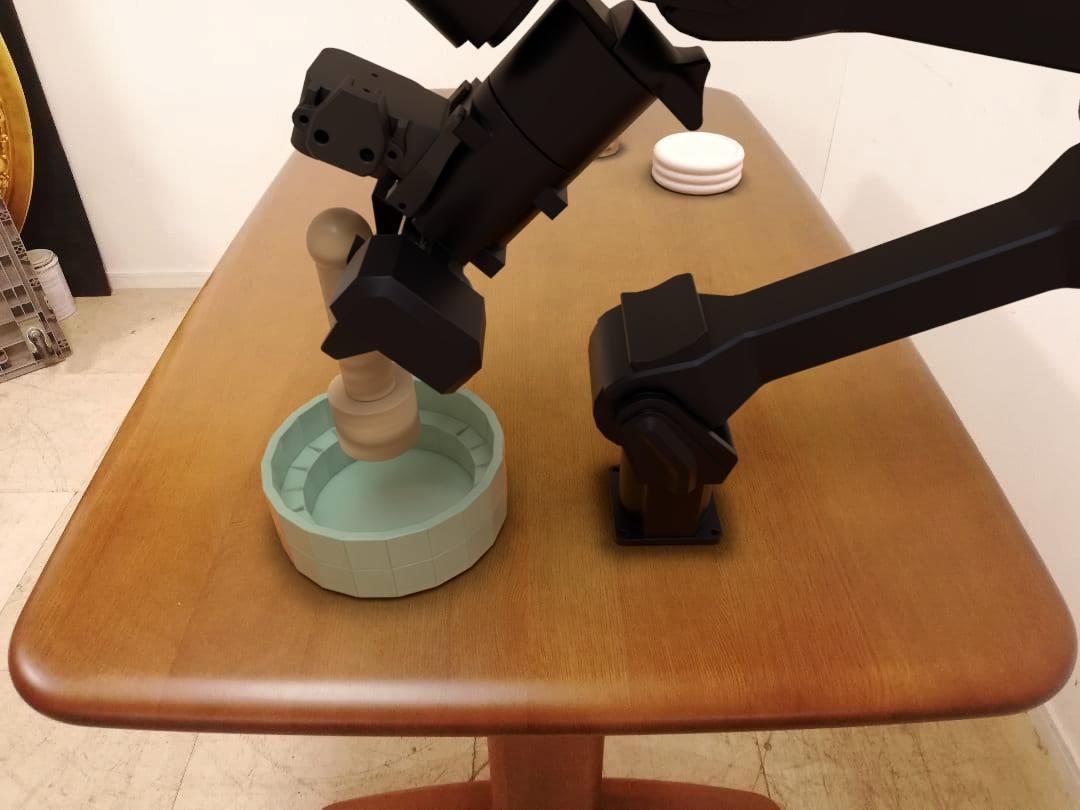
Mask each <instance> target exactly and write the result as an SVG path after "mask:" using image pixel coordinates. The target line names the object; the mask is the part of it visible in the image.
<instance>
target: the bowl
mask: <svg viewBox="0 0 1080 810" xmlns="http://www.w3.org/2000/svg"><path fill="white" fill-rule="evenodd" d="M411 375H412V374H411ZM412 377H413V380H414V386H415V392H416V399H417V405H418V411H419V417H420V423H421V434H420V437H419V440H418V441H417V443H416V444H415V445H414V446H413V447H412V448H411V449H410V450H409V451H407V452H406V453H404V454H403V455H401V456H399V457H396V458H393V459H390V460H386V461H381V462H365V461H360V460H357V459H354V458H352V457H350V456H349V455H347V454H346V453H345V452H344V451H343V450H342V448H341V446H340V443H339V440H338V436H337V432H336V428H335V424H334V420H333V416H332V412H331V408H330V404H329V400H328V396H327V391H325V392H323V393H320V394H318V395H316V396H315V397H313V398H312V399H310V400H309V401H307V402H306V403H304V404H303V405H302V406H300V407H298V408H296V410H294V411H293V412H291V413H290V414H289V415H288V416H287V418H285V420H284V421H283V422H282V424H281V425H280V426H279V427H278V428H277V429H276V430H275V432H273V434H272V435H271V437H269V441H268V443H267V445H266V448H265V451H264V453H263V456H262V458H261V461H260V474H261V475H260V476H261V486H262V487H261V488H262V491H263V494H264V497H265V500H266V503H267V506H268V509H269V511H270V515H271V517H272V520H273V523H274V526H275V529H276V532H277V535H278V537H279V540H280V543H281V546H282V548H283V550H284V551H285V552H286V554H287V556H288V558H289V559H290V561H291V563H292V564H293V566H294V567H295V569H296V570H297V571H298V572H300V573H301V574H302V575H304V576H305V577H307V578H309V579H310V580H311V581H313V582H314V583H315V584H316V585H318V586H320V587H321V588H324V589H325V590H330V591H334V592H337V593H341V594H344V595H349V596H352V597H355V598H398V597H404V596H407V595H411V594H414V593H418V592H422V591H425V590H426V591H427V590H429V589H433V588H436V587H438V586H441V585H443V584H445V582H447V581H449V580H450V579H453V578H454V577H456V576H458V575H459V574H461V573H463V572H465V571H466V570H469V569H470V568H472V566H473V565H474V564H475V563H477V562H478V560H480V558H481V557H482V556H483V555H484V554H485V553H486V552H487V551H488V550H489V549H490V548H491V547H492V546H493V545H494V543H495V541H496V539H497V538H498V535H499V532H500V530H501V529H502V526H503V524H504V522H505V520H506V518H507V515H508V478H507V475H508V474H507V463H506V462H507V461H506V444H505V443H506V442H505V433H504V430H503V429H502V426H501V424H500V422H499V420H498V417H497V415H496V413H495V411H494V409H493V408H491V407H490V406H489V404H488V403H486V402H485V401H484V400H483V399H482V398H481V397H480V396H479V395H477V394H476V393H475V392H473V391H471V390H469V389H467V388H465V387H463V386H461V387H460V388H459V389H458V390H457V391H455V392H454V393H453V394H444V395H441V394H440V393H438V392H437V391H435V390H434V389H432V388H431V387H429V386H428V385H427V384H425V383H424V382H422V381H421V380H419V379H418V378H416V377H415V376H413V375H412Z"/></svg>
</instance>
